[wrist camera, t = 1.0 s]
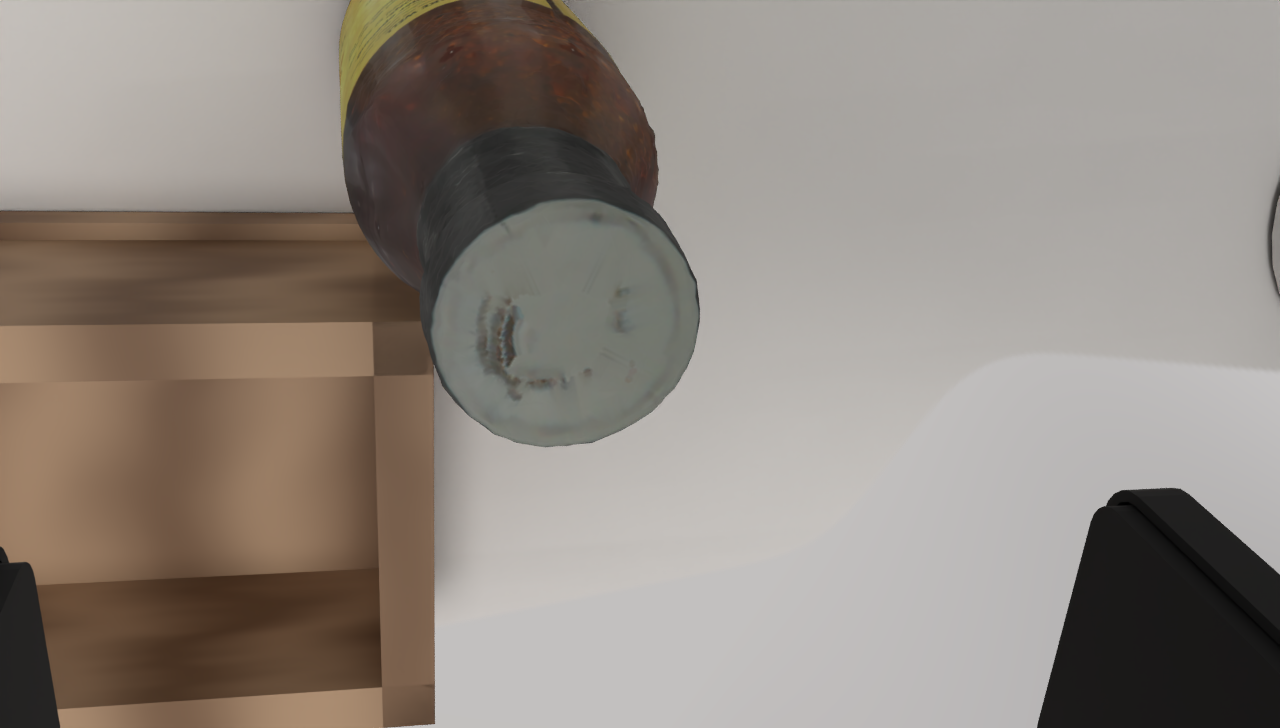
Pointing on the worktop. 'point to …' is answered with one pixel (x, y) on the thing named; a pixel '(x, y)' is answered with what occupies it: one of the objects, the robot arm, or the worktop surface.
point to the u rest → (219, 468)
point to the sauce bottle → (517, 211)
